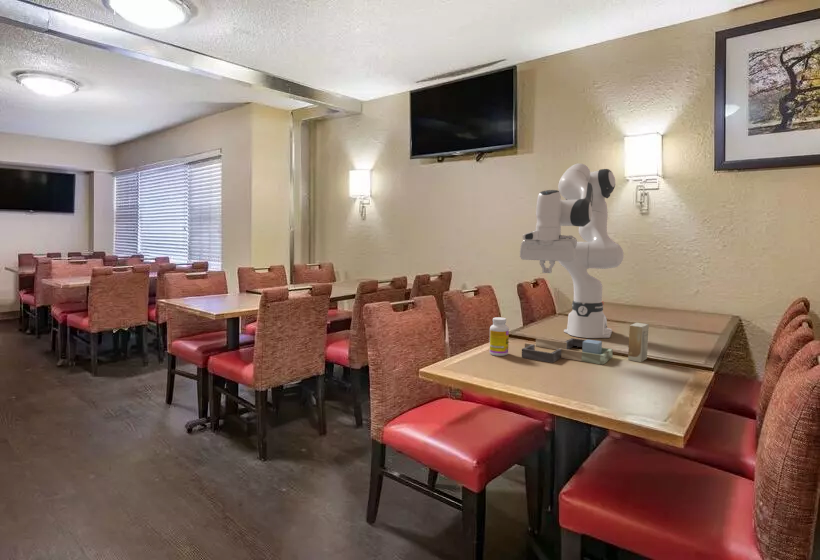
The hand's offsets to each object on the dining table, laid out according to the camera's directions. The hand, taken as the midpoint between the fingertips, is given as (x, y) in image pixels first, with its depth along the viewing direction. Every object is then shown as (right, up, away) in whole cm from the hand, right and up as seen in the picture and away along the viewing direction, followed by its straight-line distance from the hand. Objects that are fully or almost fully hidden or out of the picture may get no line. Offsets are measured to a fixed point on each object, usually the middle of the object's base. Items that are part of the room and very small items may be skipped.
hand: (546, 272), depth 176 cm
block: (+12, -30, -11) cm, 34 cm away
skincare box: (+27, -30, -13) cm, 42 cm away
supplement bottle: (-19, -29, -5) cm, 35 cm away
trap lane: (+5, -29, -6) cm, 30 cm away
